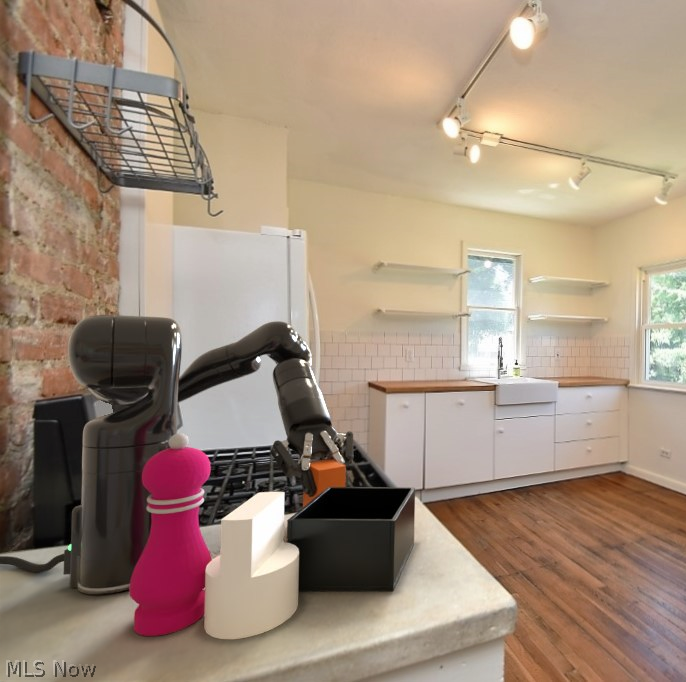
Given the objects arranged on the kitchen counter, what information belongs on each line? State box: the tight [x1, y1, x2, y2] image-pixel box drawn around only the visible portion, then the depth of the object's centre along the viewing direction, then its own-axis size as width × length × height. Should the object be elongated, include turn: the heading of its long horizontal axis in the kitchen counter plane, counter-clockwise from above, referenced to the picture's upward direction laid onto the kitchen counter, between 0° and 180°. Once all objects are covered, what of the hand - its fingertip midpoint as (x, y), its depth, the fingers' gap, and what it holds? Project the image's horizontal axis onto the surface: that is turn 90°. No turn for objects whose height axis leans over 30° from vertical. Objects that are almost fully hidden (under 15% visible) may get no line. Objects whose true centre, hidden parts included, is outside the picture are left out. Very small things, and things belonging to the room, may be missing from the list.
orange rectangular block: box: [302, 459, 347, 508], centre depth 75 cm, size 4×6×10 cm
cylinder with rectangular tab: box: [203, 491, 299, 640], centre depth 50 cm, size 9×9×12 cm
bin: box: [286, 486, 416, 592], centre depth 61 cm, size 13×13×9 cm
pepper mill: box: [128, 432, 213, 637], centre depth 49 cm, size 7×7×20 cm
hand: (328, 490), depth 74 cm, fingers closed on orange rectangular block, 4 cm apart
